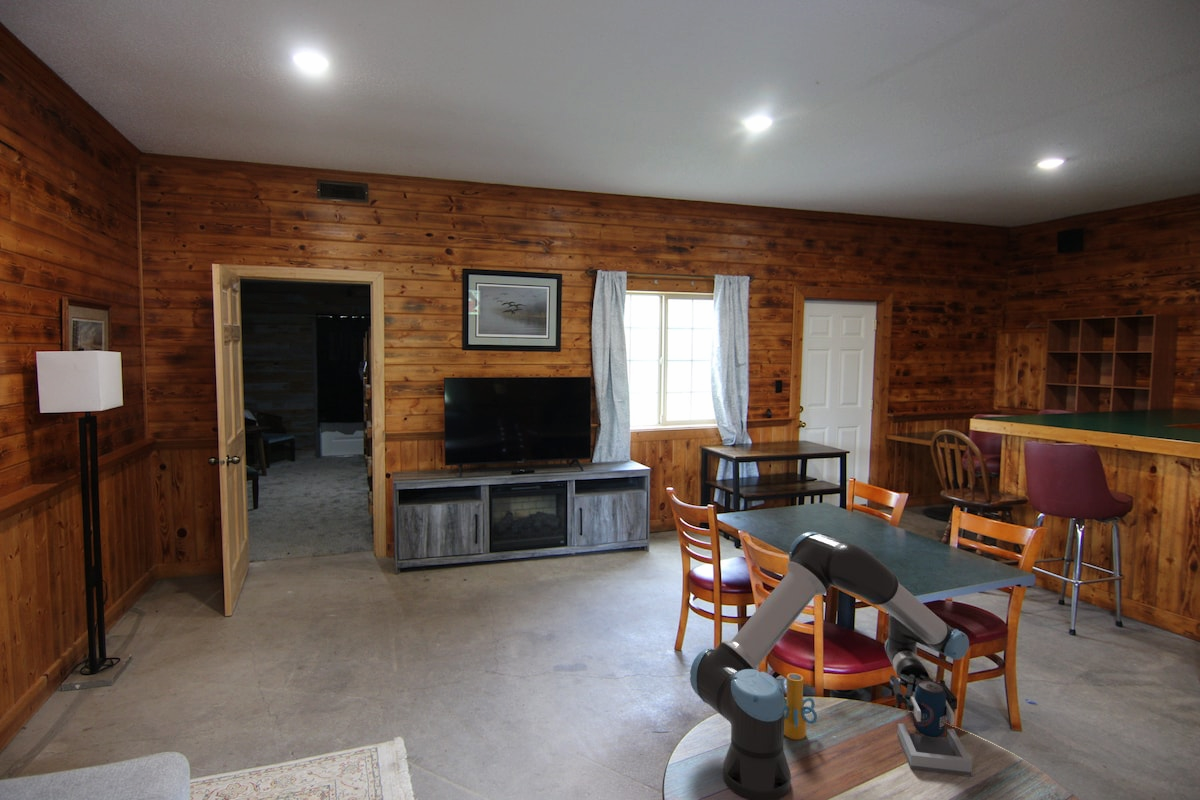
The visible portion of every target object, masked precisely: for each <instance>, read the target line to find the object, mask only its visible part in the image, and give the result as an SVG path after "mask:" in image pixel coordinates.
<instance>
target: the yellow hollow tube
mask: <svg viewBox="0 0 1200 800" xmlns="http://www.w3.org/2000/svg"><path fill="white" fill-rule="evenodd" d="M784 701H785V713H784V736H785V737H786V738H788V739H791V740H802V739H804V738H805V737H806V736H807V724H809V725H811V724H812V725H813V724H815V723H817V720H818V715H817V712H816V710H815V700H814V699H813V698H811V697H808V696H807V697H806V698H804V676H802V675H801V674H800V673H795V672H791V673H788V674H787V675H786V696H784ZM807 702H810V703H811V705H810V706H809V705H805V704H806V703H807ZM811 713H812V714H813V719H812V720H811V719H808V718H807V716H806V715H807V714H808V715H809V714H811Z"/></svg>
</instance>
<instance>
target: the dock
mask: <svg viewBox="0 0 1200 800" xmlns="http://www.w3.org/2000/svg"><path fill="white" fill-rule="evenodd" d="M897 739H898V742H899V744H900V746H901V749H902V751H903V754H904V757H905V758H906V761H907V763H908V766H909V769H910V770H913V771H923V772H932V773H937V774H938V773H939V774H948V775H955V776H964V775H966V777H972V773H973V772H972V771H973V761H972V759H971V757H970V755H969V753H968V751H967V750H966V749H965V746H964V745H963V743H962V742H961V740H960V738H959V736H958V734H957V732H956V731H955V729H954V728H947V729H946V737H942V736H940V737H939V738H929V737H926V736H923V735H921V734H913V733H909V731H908V729H907V727H906V725H905V723H897Z"/></svg>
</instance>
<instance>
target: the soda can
mask: <svg viewBox="0 0 1200 800" xmlns="http://www.w3.org/2000/svg"><path fill="white" fill-rule="evenodd" d="M938 682H939V681H935V680H933V681H932V680H920V681H919V682H918V685H917V686H916V688H915V692H914V698H915V701H916V702H917V704H918V706H919V708H920V710H921V722H917V720H916V718H915V716H914V715H913V726H914V727H915V730H916V731H917V732H918V733H919V735H923V736H926V737H929V738H939V737H942V736H943V735H944V733H945V730H946V715H945V712H946V694H945V691H944V688H943V686H942V685H941V684H939V683H938Z"/></svg>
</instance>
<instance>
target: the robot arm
mask: <svg viewBox="0 0 1200 800" xmlns="http://www.w3.org/2000/svg"><path fill="white" fill-rule="evenodd" d="M789 550H790V552H789V553H788V558H789V560H788V562H787V573H786V574H785V576H784V577H783V578H782V579H781V580H780V582H779V583H778V584H777V585H776V586H775V588H774V589H773V590H772V591H771V592H770V594H769V595H768V596H767V597H766V598H765V599H764V601H763V602H762V603H761V605H759V606H758V608H757V609H756V610H755V612H754V613H753V614H752V615H751V616H750V618H749V619H747V621H746V622H745V623H744V625H743V626H742V627H741V629H739V631H738V632H737V633H736V634H735V636H733V638H732V639H731V640H730V641H721V642H720V644H718V646H717V647H716V648H707V649H704V650H701V651H700V652H699V653H698V654H697V655H696V657H695V658H694V659H693V661H692V663H691V666H690V670H689V672H690V676H689V680H690V681H689V682H690V686H691V688H692V690H693V691H694V693H695V694H696V695H697V696H698V697H699V698H700V700H701V701H702V702H703V703H705V704H707V705H709V706H710V707H711V708H712V709H713V710H714V711H716V712H717V713H718V714H719V715H721V716H722V717H723V718H724V719H726V721H728V722H729V724H730V726H731V727H730V745H729V747H728V748H727V749H728V750H727V753H726V755H725V758H724V761H723V765H722V777H723V781H724V783H725V784H726V786H727V787H728V788H729V790H731V791H732V792H733V793H735V794H737V795H738V796H740V797H742V798H745V799H748V800H779V799H781V798H783V797H784V796H786V795H787V794H788V793H789V791H790V789H791V785H792V783H791V782H792V776H791V770H790V767H789V764H788V759H787V758H786V755H785V750H784V736H785V735H784V713H785V701H784V697H785V693H784V689H783V687H782V685H781V684H780V682H779V681H778V680H777V678H775V677H774V676H773V675H772V674H769V673H767V672H766V671H759V666H760V664H761V663H762V662H763V661H764V660H765V659H766V657H767V656H768V655H769V653H770V652H771V651H772V649H773V648H774V647H775V646H776V645H777V644H778V643H779V641H780V640H781V638H782V637H783V636H784V635H785V634H786V632H787V631H788V630H789V629H790V627H791V626H792V625H793V624H794V623H795V621H796V620H797V619H798V618H799V616H800V615H801V613H802V612H803V611H804V610H805V609H806V607H808V605H809V604H810V602H812V600H813V599H814V598H815V596H822V595H825V594H826V593H827V592H828V591H829V590H830V588H831V587H836V588H838V589H840V590H844V591H845V592H848V593H852V594H854V595H856V596H859V597H860V598H862V599H864V600H865V601H867V602H868V603H870V604H872V605H876V606H880V607H881V608H882V609H884V611H886V612H887V613H888V637H887V639H886V641H885V642H884V651H885V654H886V656H887V659H889V662H890V663H891V666H892V668H893V669H894V671H895V674H896V676H897V677H896V676H895V675H893V674H891V675H890V676H889V686H890V687H891V688H892V689H893V692H894V698H895V702H896V703H897V704H900V705H901V704H904V709H907V710H908V711H910V712H912V714H913V717H914V716H915V718H916V720H917V722H921V710H920V708H919V706H918V704H917V702H916V701H915V696H913V695H914V693H915V688H916V686H917V685H918V682H919V681H920V680H932V681H934V679H933V678H931V677H930V674H929V673H928V671H927V668H926V667H925V666H924V664H923V662H922V661H921V658H920V657H919V655H918V653H917V647H918V646H917V645H918V644H920V645H922V646H924V647H927V648H929V649H930V650H933V651H935V652H937V653H939V654H941V655H943V656H944V657H948V658H951V659H953V660H961V659H963V658H964V657H965V656H966V655H967V653H968V650H969V647H970V640H969V637H968V635H967V634H966V633H964V632H963V631H961V630H959V629H958V628H954V627H951V626H950V625H949V624H948V623H946V622H945V621H944V620H942V619H941V618H940V617H939V616H937V614H935V613H934V612H933V611H932V610H931V609H929V607H927V606H926V605H925V604H924V603H923V602H921V601H920V600H919V599H918V598H917V597H915V596H914V595H913V594H912V593H911V592H910V591H909V590H908V589H906V587H904V586H903V585H902V584H900V582H899V581H900V580H899V578H898V577H897V575H896V574H895V572H893V571H891V570H890V568H888V567H887V566H886V565H885V564H884V563H882V562H881V561H880V560H879V559H877V557H875V556H874V555H872V553H870V552H869V551H867V550H865V549H864V548H863V547H861V546H859V545H857V544H854V543H851V542H847V541H845V540H841V539H838V538H836V537H833V536H831V535H829V534H826V533H823V532H817V531H807V532H804V533H802V534H800V535H799V536H798V537H796V538H795V540H794V541H792V544H791V546H790V549H789ZM917 643H918V644H917ZM937 682H938V683H939V684H941V685H942V686H943V688H944V691H945V694H946V712H945V718H946V719H947V721H948V723H949V724H950V725H951V726H955V722H956V721H955V717H956V713H955V710H957V709H958V698H957V697H956V695H955V694H954V693H953V692H952V691H951V689H950V688H949V687H948V686H947V684H946V681H945V680H942V679H940V680H939V681H937ZM900 685H901V686H902V687H904V688H905V689H906V690H905V693H904V695H903V693H902V689H901V686H900Z"/></svg>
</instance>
